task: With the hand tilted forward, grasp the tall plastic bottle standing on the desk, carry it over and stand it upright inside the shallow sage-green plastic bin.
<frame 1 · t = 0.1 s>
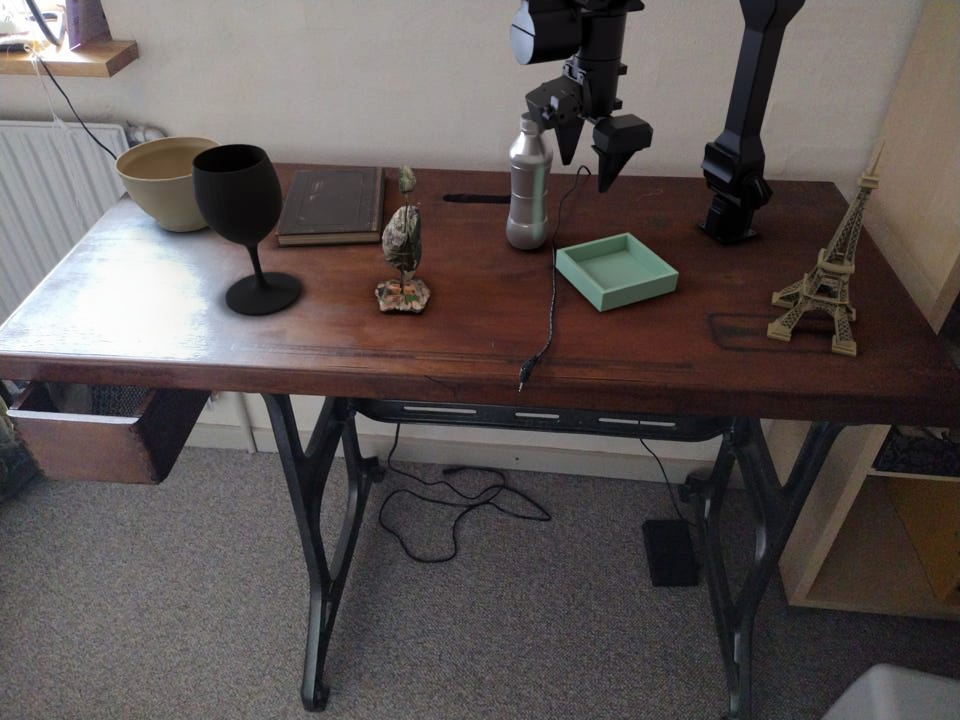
hand: (583, 178, 89), 15 cm above the table, tool pointing down, fingers open, 9 cm apart
eiffel tower: (811, 324, 89), on the table
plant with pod: (404, 294, 94), on the table
hardcover book: (336, 211, 113), on the table
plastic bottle: (526, 244, 105), on the table
planter bowl: (190, 220, 111), on the table
wine glass: (264, 295, 94), on the table
bin: (613, 278, 97), on the table
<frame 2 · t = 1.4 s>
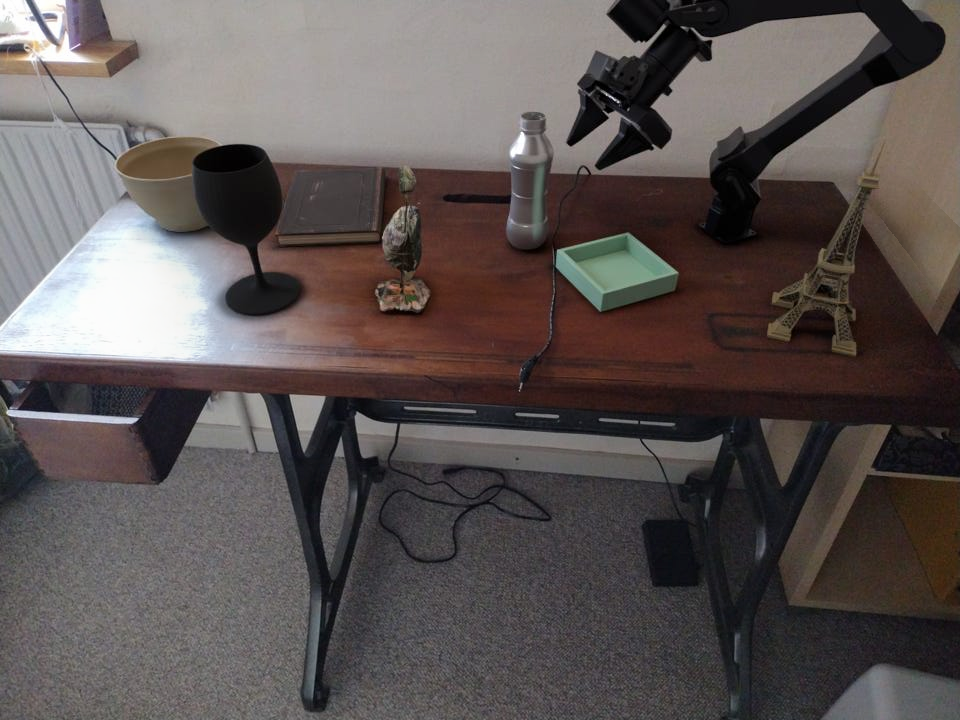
hand: (581, 156, 98), 13 cm above the table, tool tilted 45°, fingers open, 9 cm apart
nothing on the table moved.
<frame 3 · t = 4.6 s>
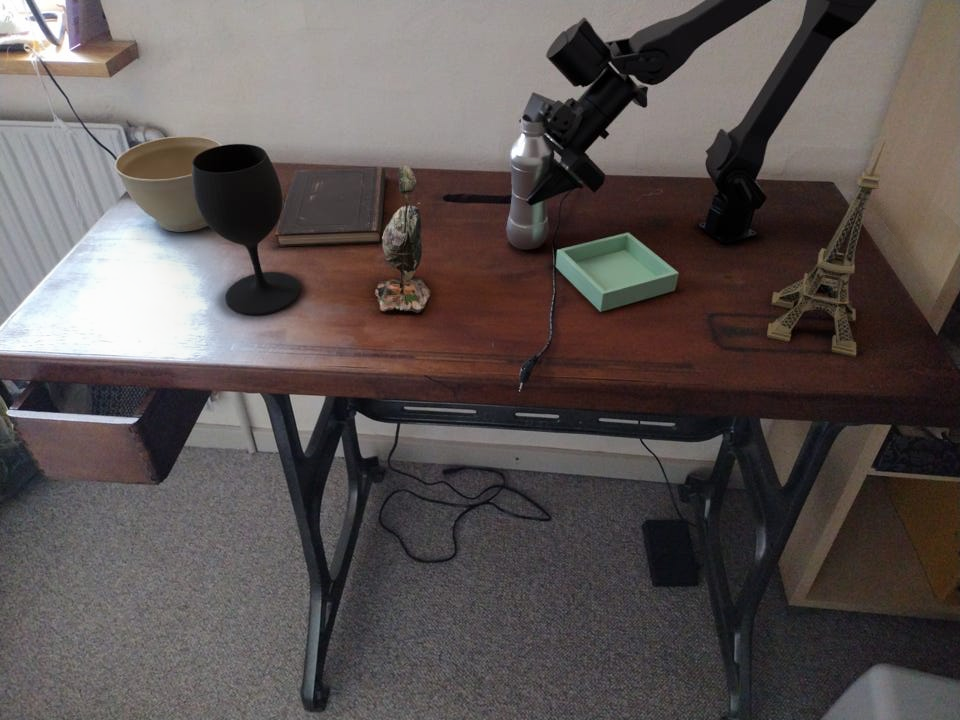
hand: (520, 194, 99), 9 cm above the table, tool tilted 45°, fingers closed on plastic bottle, 6 cm apart
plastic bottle: (526, 244, 105), on the table, touching gripper
everything else where it was.
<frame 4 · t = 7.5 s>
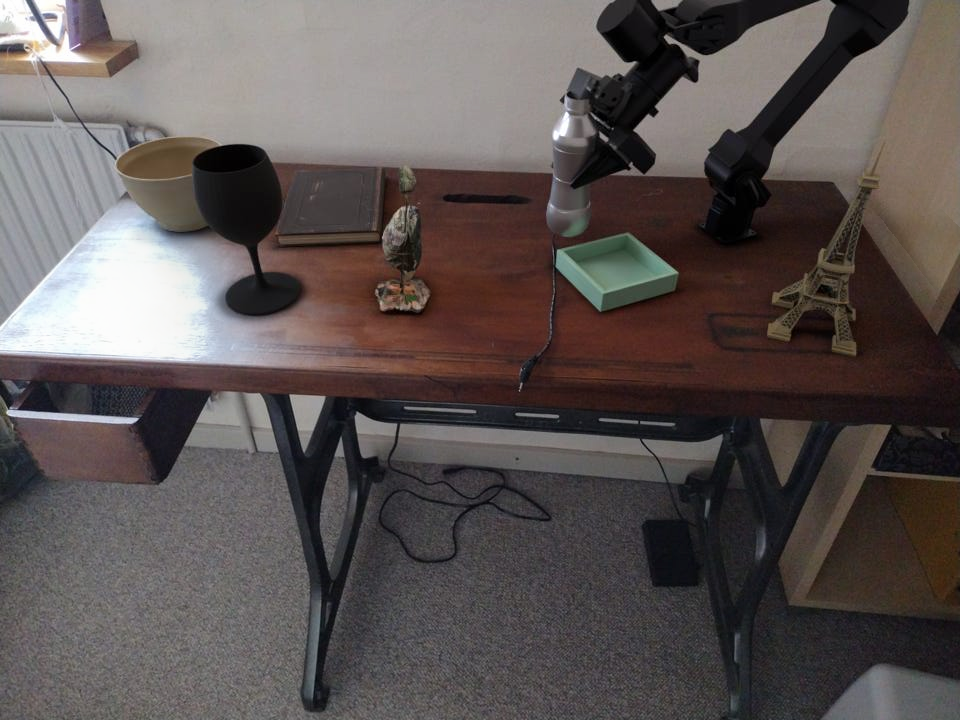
hand: (562, 177, 93), 13 cm above the table, tool tilted 45°, fingers closed on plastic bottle, 6 cm apart
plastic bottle: (566, 231, 99), point 4 cm above the table, touching gripper
everything else where it was.
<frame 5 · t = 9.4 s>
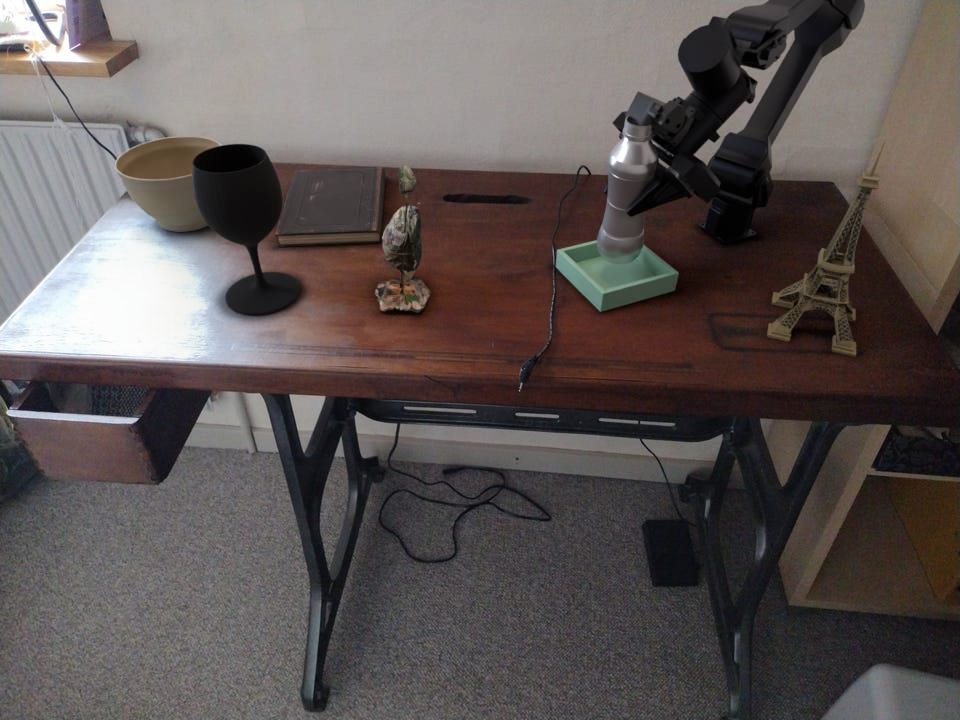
hand: (616, 204, 89), 12 cm above the table, tool tilted 45°, fingers closed on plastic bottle, 6 cm apart
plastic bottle: (617, 257, 95), point 3 cm above the table, touching gripper
everything else where it was.
when the fingers open (9 cm above the table, at t = 10.9 s): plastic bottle stays where it is, resting on bin.
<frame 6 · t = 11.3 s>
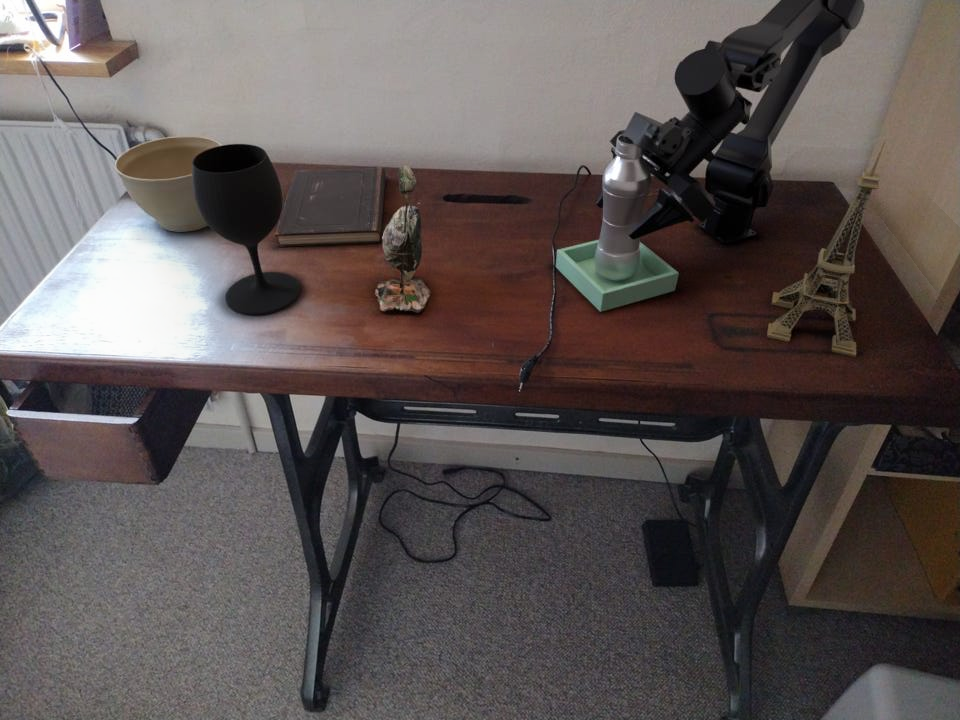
hand: (613, 221, 91), 10 cm above the table, tool tilted 45°, fingers open, 9 cm apart
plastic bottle: (615, 274, 97), resting on bin
everything else where it was.
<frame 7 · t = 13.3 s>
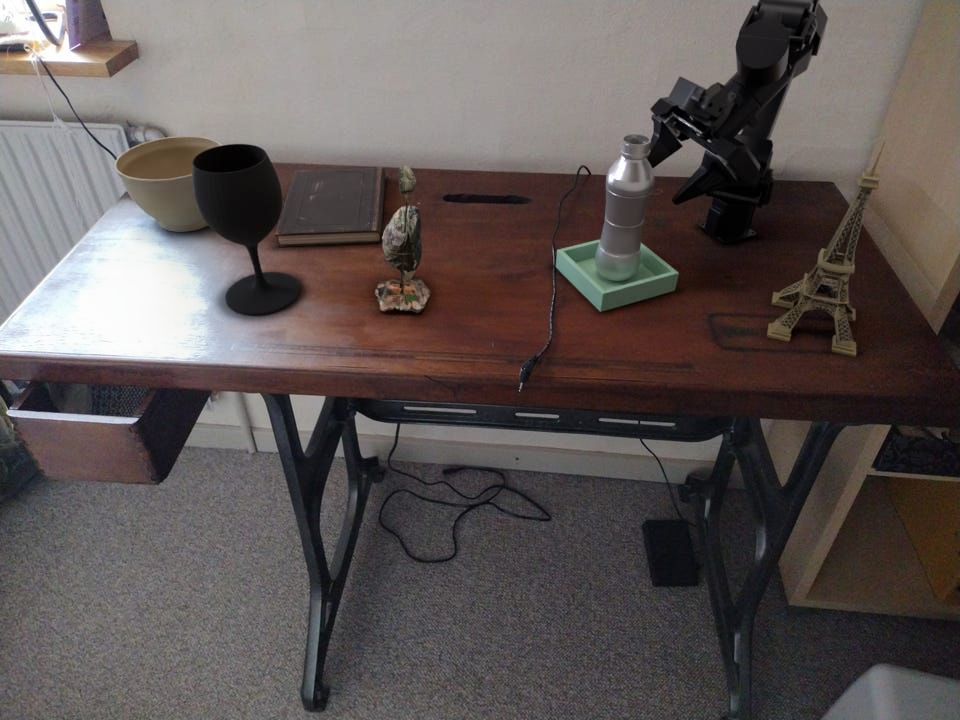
hand: (655, 187, 91), 13 cm above the table, tool tilted 45°, fingers open, 9 cm apart
nothing on the table moved.
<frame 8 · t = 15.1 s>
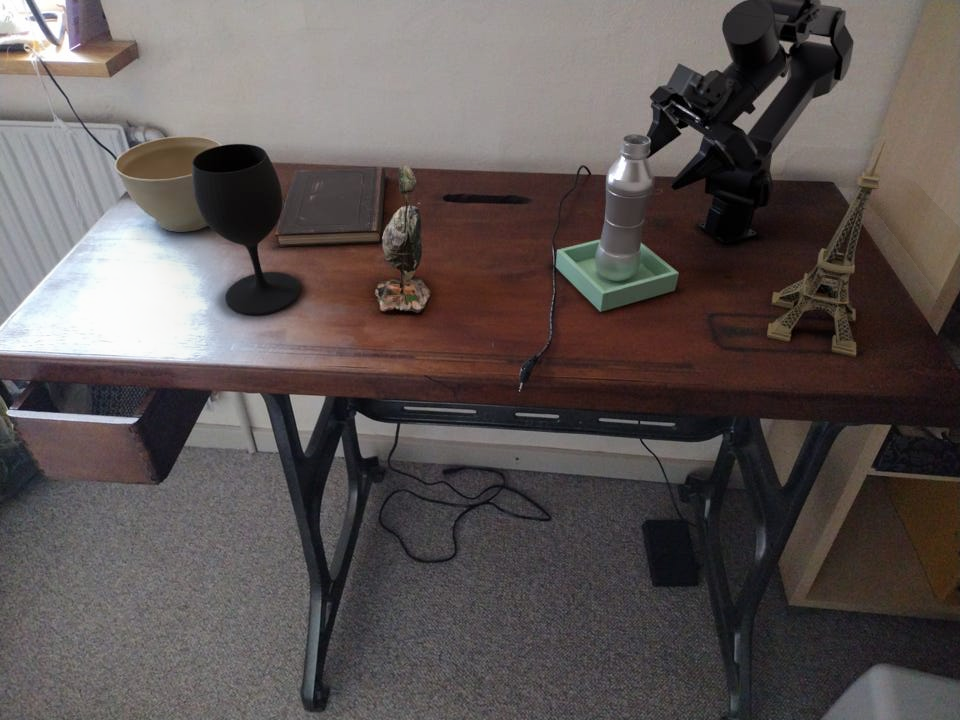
hand: (654, 173, 93), 14 cm above the table, tool tilted 45°, fingers open, 9 cm apart
nothing on the table moved.
at the end: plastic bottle inside the target area in the bin (0.5 cm from its centre), point 0.3 cm above the bin's base; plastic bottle tilted 0°; the gripper is holding nothing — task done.
